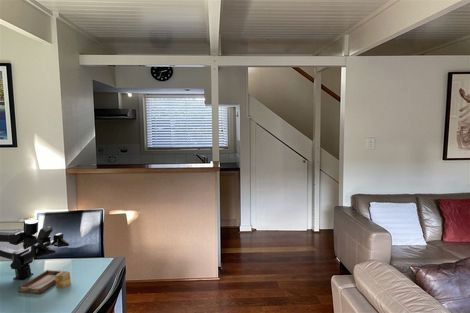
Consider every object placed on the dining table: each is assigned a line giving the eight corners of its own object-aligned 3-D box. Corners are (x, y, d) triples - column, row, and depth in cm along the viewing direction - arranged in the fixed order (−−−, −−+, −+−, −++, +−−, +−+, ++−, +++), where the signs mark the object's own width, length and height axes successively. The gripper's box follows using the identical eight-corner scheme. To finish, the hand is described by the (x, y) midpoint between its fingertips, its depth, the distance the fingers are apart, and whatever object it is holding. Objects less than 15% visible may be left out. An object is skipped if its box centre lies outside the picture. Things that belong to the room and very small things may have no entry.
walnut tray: (18, 292, 154) (18, 287, 153) (47, 274, 171) (47, 269, 171) (40, 294, 151) (39, 289, 151) (67, 275, 169) (67, 271, 169)
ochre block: (56, 287, 157) (55, 275, 157) (62, 282, 162) (61, 271, 161) (64, 288, 156) (63, 276, 156) (70, 283, 161) (69, 271, 160)
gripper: (20, 232, 155) (48, 239, 152) (50, 221, 173) (76, 227, 170) (19, 254, 156) (47, 261, 153) (49, 240, 175) (74, 247, 171)
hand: (62, 248), depth 162 cm, fingers open, 9 cm apart
